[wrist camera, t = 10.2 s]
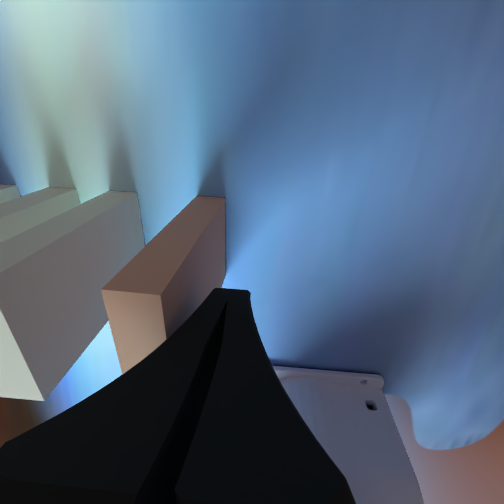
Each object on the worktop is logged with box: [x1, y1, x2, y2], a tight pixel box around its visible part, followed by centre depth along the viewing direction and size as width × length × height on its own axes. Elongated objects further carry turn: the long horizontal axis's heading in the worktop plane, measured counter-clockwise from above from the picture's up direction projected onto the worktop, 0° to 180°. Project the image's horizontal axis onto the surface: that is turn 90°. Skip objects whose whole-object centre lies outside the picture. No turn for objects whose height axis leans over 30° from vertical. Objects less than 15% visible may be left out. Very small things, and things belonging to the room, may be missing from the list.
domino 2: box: [0, 191, 145, 401], centre depth 12 cm, size 2×5×9 cm, turn 178°
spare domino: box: [101, 196, 226, 374], centre depth 12 cm, size 2×5×9 cm, turn 178°
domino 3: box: [0, 187, 80, 243], centre depth 13 cm, size 2×5×9 cm, turn 178°
